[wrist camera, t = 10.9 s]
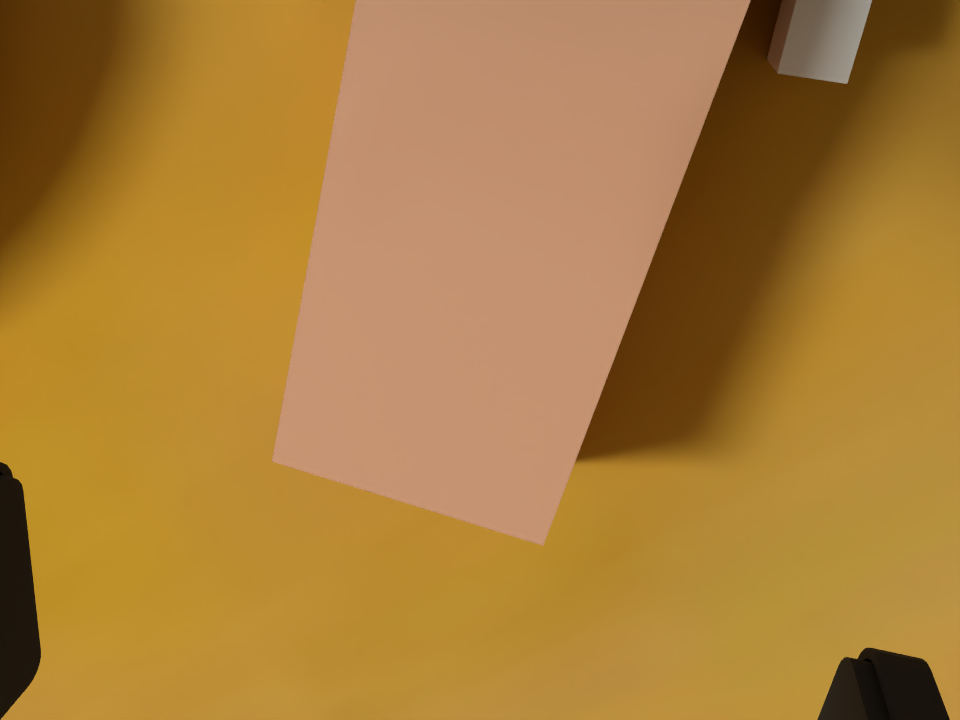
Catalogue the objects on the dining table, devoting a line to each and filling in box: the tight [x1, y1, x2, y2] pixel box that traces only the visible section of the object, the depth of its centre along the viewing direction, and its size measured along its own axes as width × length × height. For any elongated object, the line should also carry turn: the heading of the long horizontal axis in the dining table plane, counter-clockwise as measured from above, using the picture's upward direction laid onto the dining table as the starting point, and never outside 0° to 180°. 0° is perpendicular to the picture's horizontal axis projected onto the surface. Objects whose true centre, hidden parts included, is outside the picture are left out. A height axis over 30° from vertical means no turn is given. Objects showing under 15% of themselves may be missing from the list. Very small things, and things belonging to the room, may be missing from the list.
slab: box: [272, 0, 751, 545], centre depth 18 cm, size 12×6×4 cm, turn 166°
